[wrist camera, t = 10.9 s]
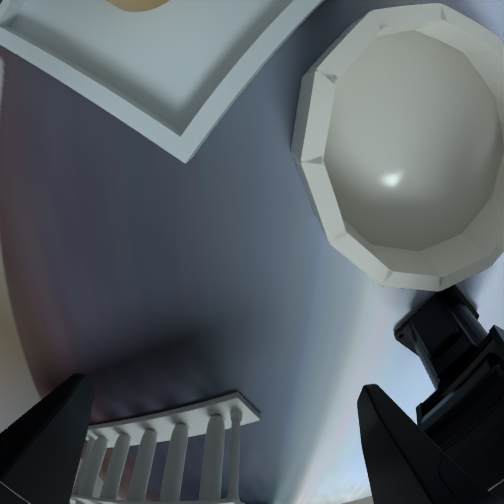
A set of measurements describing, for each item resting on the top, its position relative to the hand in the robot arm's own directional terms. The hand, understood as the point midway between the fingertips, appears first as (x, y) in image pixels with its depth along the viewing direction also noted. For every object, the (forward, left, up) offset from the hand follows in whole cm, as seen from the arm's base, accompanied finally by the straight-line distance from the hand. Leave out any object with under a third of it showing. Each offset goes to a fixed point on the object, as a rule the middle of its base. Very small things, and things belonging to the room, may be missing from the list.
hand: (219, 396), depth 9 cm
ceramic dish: (-5, -12, -12) cm, 18 cm away
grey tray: (+14, -10, -12) cm, 21 cm away
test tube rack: (-6, +25, -12) cm, 28 cm away
